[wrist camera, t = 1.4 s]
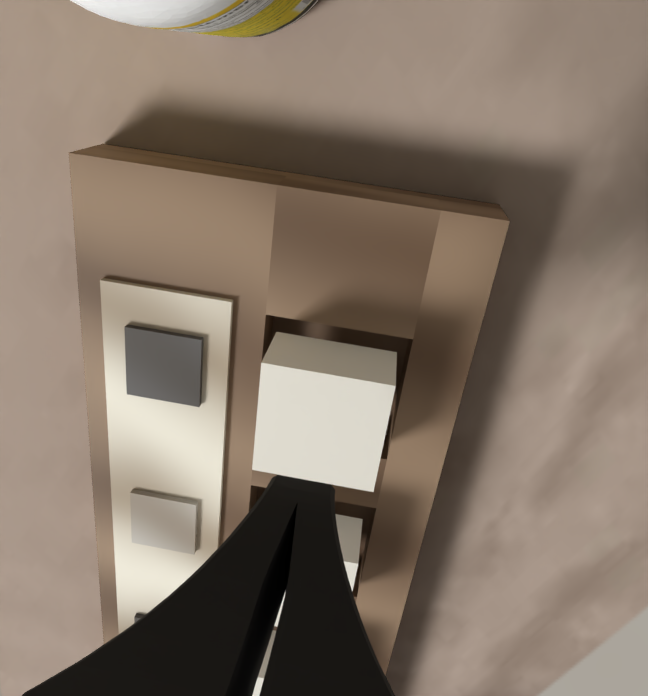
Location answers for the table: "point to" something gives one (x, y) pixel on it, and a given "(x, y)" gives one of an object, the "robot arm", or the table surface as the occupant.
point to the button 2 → (323, 410)
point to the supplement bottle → (204, 14)
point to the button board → (260, 353)
